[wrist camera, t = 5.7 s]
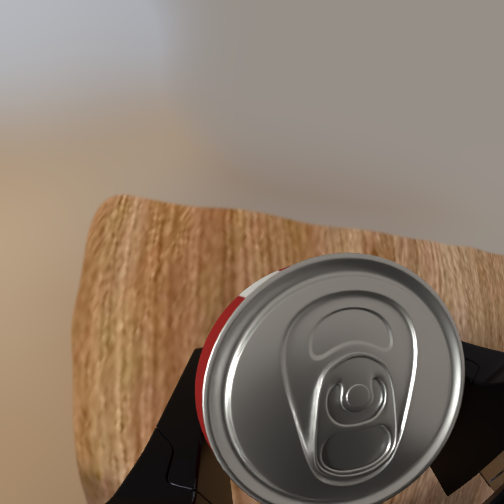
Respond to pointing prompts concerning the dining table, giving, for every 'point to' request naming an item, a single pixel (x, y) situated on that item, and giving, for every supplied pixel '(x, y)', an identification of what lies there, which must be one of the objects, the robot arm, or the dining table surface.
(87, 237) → the dining table surface
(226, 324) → the soda can
